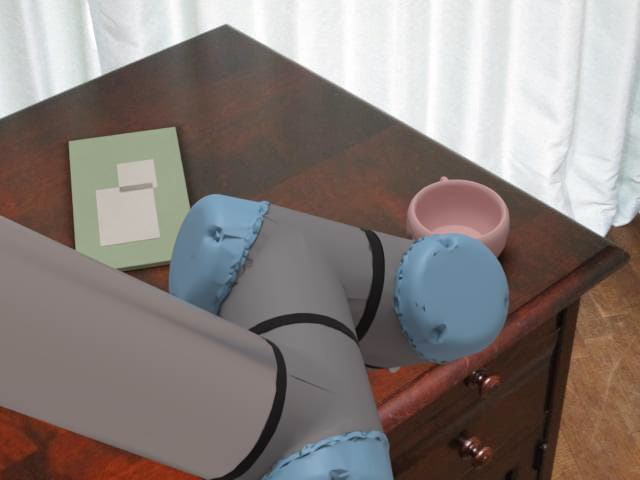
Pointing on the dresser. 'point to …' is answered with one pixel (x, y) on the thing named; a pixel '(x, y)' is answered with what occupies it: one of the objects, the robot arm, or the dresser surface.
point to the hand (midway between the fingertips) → (223, 348)
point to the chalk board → (128, 197)
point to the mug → (459, 213)
